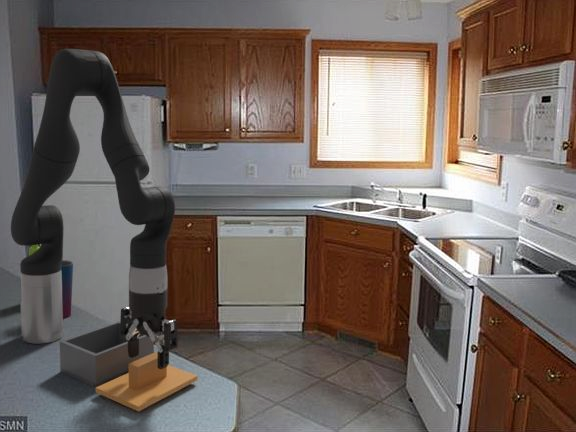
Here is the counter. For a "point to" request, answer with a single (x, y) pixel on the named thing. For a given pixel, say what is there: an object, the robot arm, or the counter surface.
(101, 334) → the tub
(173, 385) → the lid
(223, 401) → the counter surface
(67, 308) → the cup
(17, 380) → the counter surface
